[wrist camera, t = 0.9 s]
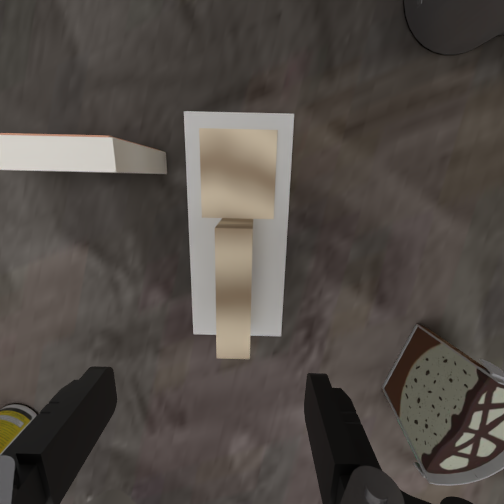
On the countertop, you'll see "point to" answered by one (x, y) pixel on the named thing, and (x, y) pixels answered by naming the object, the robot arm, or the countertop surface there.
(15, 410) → the supplement bottle
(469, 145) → the countertop surface
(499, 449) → the food container
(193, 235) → the mat
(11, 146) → the tile
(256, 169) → the turner
